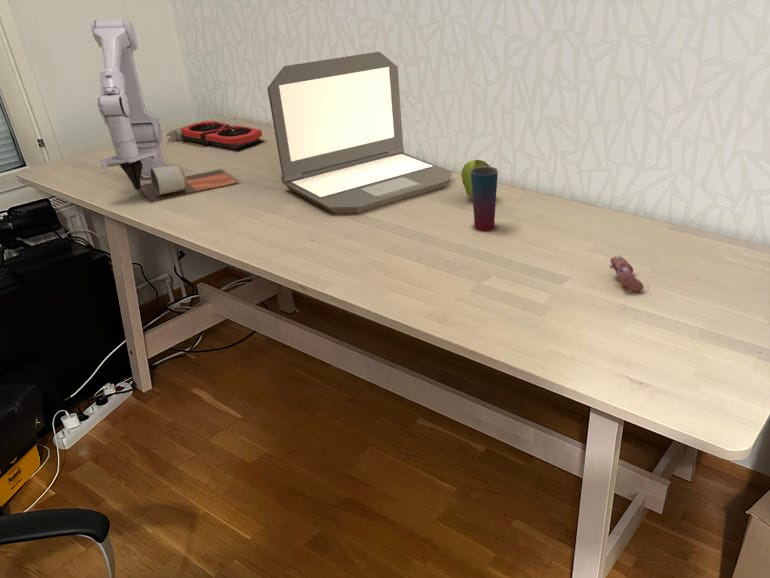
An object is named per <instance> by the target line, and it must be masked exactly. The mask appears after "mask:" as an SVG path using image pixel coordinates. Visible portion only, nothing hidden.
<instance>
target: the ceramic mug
mask: <svg viewBox="0 0 770 578" xmlns="http://www.w3.org/2000/svg"><path fill="white" fill-rule="evenodd" d="M150 175H151V178H150V180H151V184H152V183H153V186H154V189H155V191H156V193H157V194H158V195H163V194H168V193H173V192H178V191H182V190H184V189H185V188H186V186H187V183H186V178H185V177H186V175H185V172H184V169H183V168H182V167H181V166H179V165H167V166H166V165H165V167H156V168H151V170H150Z"/></svg>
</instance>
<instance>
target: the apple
mask: <svg viewBox="0 0 770 578" xmlns="http://www.w3.org/2000/svg"><path fill="white" fill-rule="evenodd" d="M480 166H489V167H491V166H490V164H489V163H488V162H486V161H485V160H481V159H474V160H470V161H468V162H466V163H465V164H464V165H463V167H462V170H461V181H462V185H463V187H464V190H465V192H466V195H467V197H469V198H470V199H471V200H472V201H473V197H472V184H471V169H473V168H475V167H480Z"/></svg>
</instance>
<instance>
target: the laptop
mask: <svg viewBox="0 0 770 578" xmlns="http://www.w3.org/2000/svg"><path fill="white" fill-rule="evenodd" d="M267 93H268V100H269V105H270V112H271V118H272V123H273V130H274V135H275V136H274V137H275V141H276V148H277V153H278V159H279V164H280V165H279V166H280V171H281V182H282V184H283V185H284V186H286V187H287V188H288V189H289V190H290V191H292V192H294V193H295V194H297V195H299V196H300V197H303V198H305V199H306V200H308V201H310V202H312V203H313V204H317V205H318V206H319V207H322V208H323V209H325V210H327V211H328V212H331V213H333V214H335V215H338V214H339V215H341V214H342V215H343V214H345V215H346V214H351V215H352V214H356V215H357V214H359V213H362V212H367V211H370V210H372V209H375V208H380V207H382V206H385V205H389V204H392V203H396V202H399V201H402V200H406V199H409V198H414V197H416V196H419V195H422V194H425V193H429V192H432V191H435V190H436V191H437V190H440V189H442V188H445V187H446V186H447V183H448V182H449V180H450V179H451V177H452V175H453V173H454V171H452V170H449V169H447V168H445V167H441V166H439V165H436V164H434V163H432V162H428V161H426V160H424V159H421V158H418V157H416V156H413V155H410V154H407V153H405V147H404V140H403V125H402V124H403V123H402V110H401V109H402V108H401V95H400V93H401V92H400V80H399V67H398V65H397V64H395V63H394V62H393V61H392V60H390V59H389V58H388V57H387V56H385V54H383V53H382V52H380V51H374V52H367V53H361V54H354V55H348V56H340V57H334V58H327V59H321V60H315V61H309V62H303V63H302V62H301V63H295V64H290V65H284V66H283V67H282V68H281V70H280V71H278V73H277V74H276V76H275V77H274V78H273V80H272V81H271V83H270V84H269V85H268V86H267Z"/></svg>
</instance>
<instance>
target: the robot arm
mask: <svg viewBox="0 0 770 578" xmlns="http://www.w3.org/2000/svg"><path fill="white" fill-rule="evenodd" d="M90 25H91V32H92V36H93V38H94V41H95V42H96V44H97V45H98V47H99V48H101V51H102V58H103V66H104V69H102V71H100V93H101V94H100V96H99V97H98V98H97V106H98V110H99V113H100V116H101V117H102V119H103V122H104V124H105V125H106V126H107V129H108V132H109V135H110V138H111V143H112V145H113V148H114V153H115V156H112V157H109V158H108V157H107V158H104V159H100V160H99V162H100V167H101V169H102V170H105V169H106V170H107V169H108V168H112V167H120V168H121V169H122V170H123V172H124V174H126V175H127V177H128V179H129V181H130V182H131V184H132V186H133V188H134V190H140V189H141V186H142V185H141V179H142V178H143V179H145V180H146V179H151V175H150V170H151V168H156V167H166V164H165V160H164V156H163V152H162V148H161V145H160V144H162V142H163V140H164V135H163V129H162V126H161V124H160V121H159V117H157V116H156V115H155V114H153V113H152V112H150V111H149V110H147V109H146V105H145V101H144V97H143V93H142V92H143V91H142V88H141V84H140V79H139V77H138V72H137V67H136V63H135V58H134V51H136V50H138V49H139V47H138V46H139V45H138V40H137V35H136V31H135V27H134V25H133V23H132V21H131V20H130V19H129V18H123V19H119V18H118V19H93V20H92V22H91V24H90ZM141 177H142V178H141Z"/></svg>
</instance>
